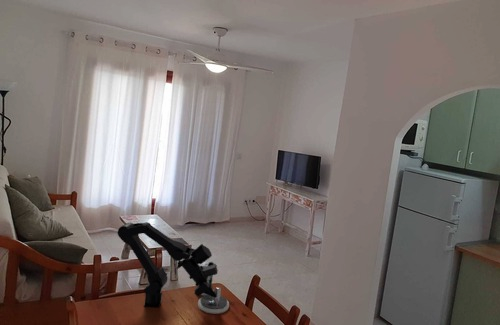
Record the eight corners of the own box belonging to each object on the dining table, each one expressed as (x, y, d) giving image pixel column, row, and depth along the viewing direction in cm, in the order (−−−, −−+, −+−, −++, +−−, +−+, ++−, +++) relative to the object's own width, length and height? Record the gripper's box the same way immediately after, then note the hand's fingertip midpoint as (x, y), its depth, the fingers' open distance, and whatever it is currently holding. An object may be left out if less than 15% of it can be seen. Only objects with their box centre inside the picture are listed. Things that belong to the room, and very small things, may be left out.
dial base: (196, 312, 164) (197, 308, 163) (199, 297, 177) (199, 294, 177) (229, 314, 165) (229, 311, 165) (228, 299, 179) (228, 296, 178)
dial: (203, 309, 163) (205, 290, 162) (198, 296, 175) (200, 278, 174) (229, 308, 167) (232, 289, 166) (223, 295, 179) (225, 277, 178)
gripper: (205, 265, 154) (229, 294, 155) (210, 251, 172) (231, 277, 173) (184, 282, 154) (208, 311, 155) (191, 266, 173) (212, 292, 174)
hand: (216, 297), depth 164 cm, fingers closed, pressing on dial
